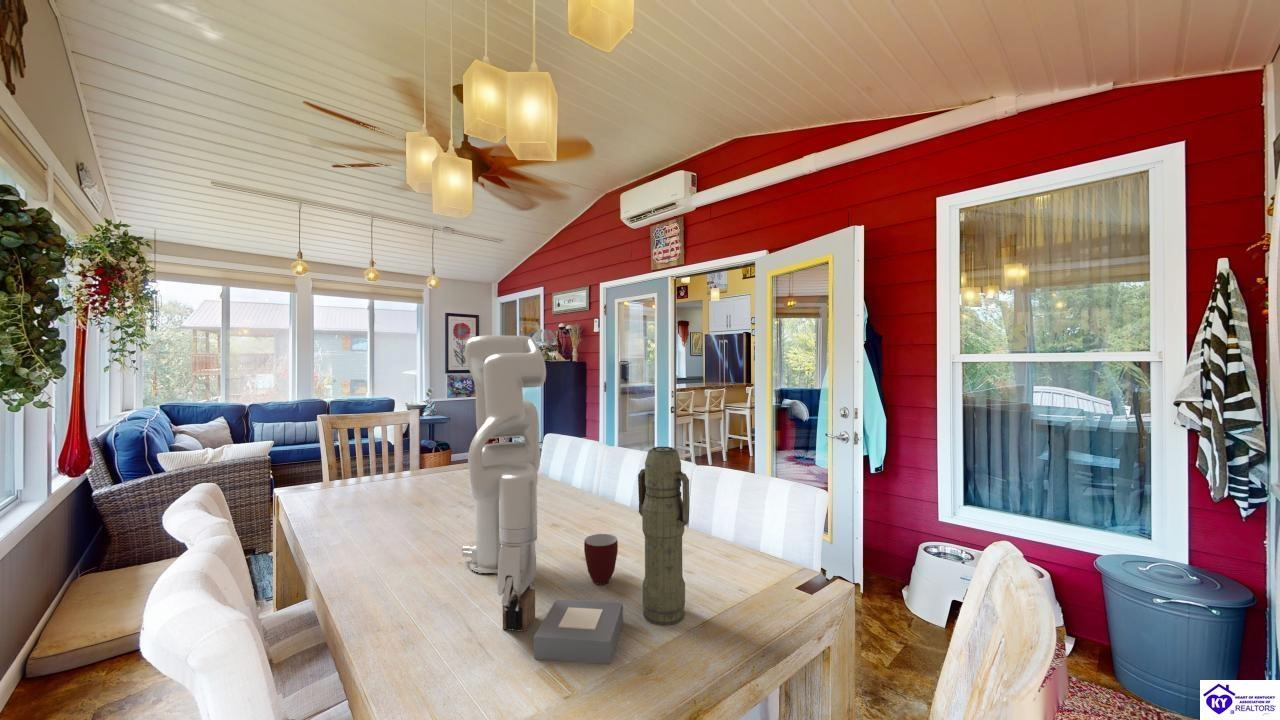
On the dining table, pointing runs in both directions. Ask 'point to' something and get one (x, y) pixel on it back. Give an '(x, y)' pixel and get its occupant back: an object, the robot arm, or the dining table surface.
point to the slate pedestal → (579, 631)
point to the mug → (601, 556)
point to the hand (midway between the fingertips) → (519, 620)
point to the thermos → (663, 534)
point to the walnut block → (524, 608)
